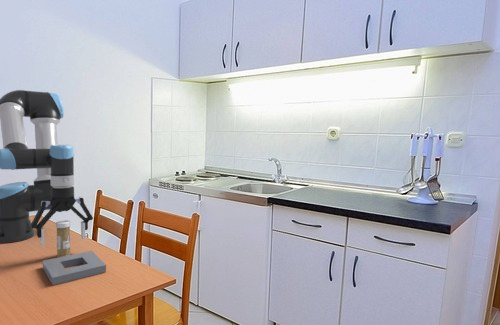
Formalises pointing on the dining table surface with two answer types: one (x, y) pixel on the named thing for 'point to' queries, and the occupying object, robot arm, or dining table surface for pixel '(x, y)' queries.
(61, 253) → the sprinkles bottle
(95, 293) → the dining table surface
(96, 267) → the socket plate
